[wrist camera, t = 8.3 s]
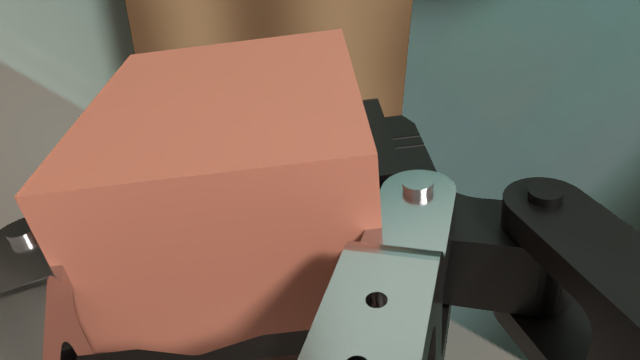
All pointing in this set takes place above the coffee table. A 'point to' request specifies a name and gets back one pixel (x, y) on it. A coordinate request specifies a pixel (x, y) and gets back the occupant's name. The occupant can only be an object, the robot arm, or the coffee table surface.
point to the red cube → (209, 193)
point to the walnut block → (288, 32)
